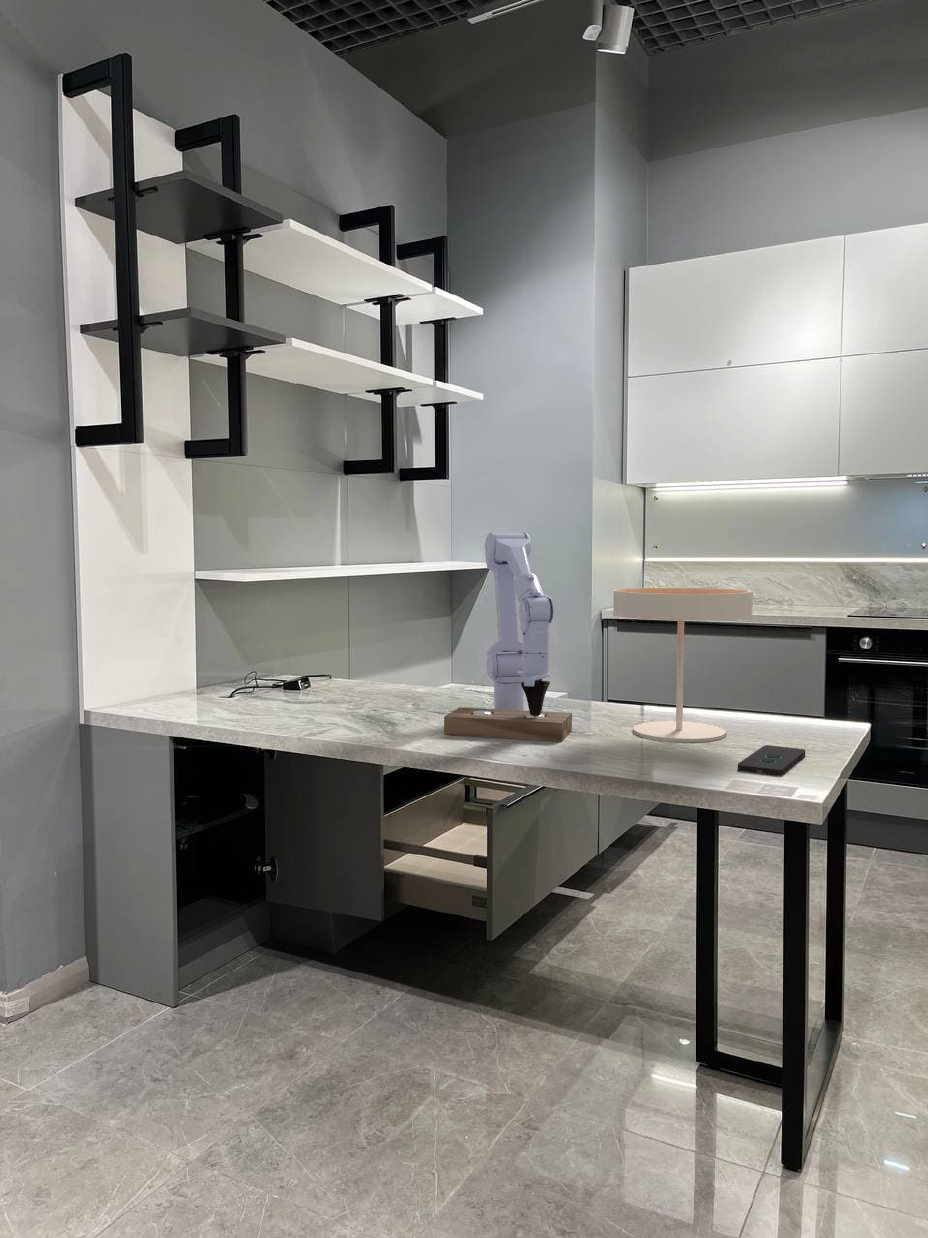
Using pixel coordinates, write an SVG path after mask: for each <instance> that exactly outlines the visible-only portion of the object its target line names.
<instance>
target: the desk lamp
mask: <svg viewBox="0 0 928 1238" xmlns="http://www.w3.org/2000/svg"><path fill="white" fill-rule="evenodd" d="M753 593H754V592H753V591H752V590H747V589H737V588H736V589H734V588H716V587H713V588H711V587H633V588H632V587H631V588H630V587H629V588H628V587H627V588H617V589H613V599H612V600H613V602H612V603H613V609H612V610H613V612H612V614H613V616H615V617H620V618H626V619H637V620H638V619H639V620H656V621H657V620H658V621H677V638H676V641H677V642H676V644H677V645H676V696H675V697H676V700H675V701H676V705H675V708H676V709H675V721H674V720H673V721H672V720H664V721H663V720H662V721H649V722H642V723H639V724H636V725H634V726H633V727H632V729H633V730H632V731H633V734H634V735H637V736H638V737H641V738H645V739H649V740H654V741H661V742H662V741H663V742H670V743H671V742H672V743H703V742H704V743H705V742H707V743H708V742H713V741H714V742H715V741H719V740H723V739H724V738H725V737H727V731H726V729H724V728H722V727H720V726H717V725H712V724H708V723H702V722H694V721H693V722H692V721H683V717H684V716H683V715H684V714H683V712H684V709H683V708H684V707H683V706H684V657H685V655H684V654H685V653H684V651H685V649H684V648H685V621H695V622H697V621H730V620H731V621H732V620H734V621H735V620H742V619H743V620H744V619H749V618H752V617H753V603H754V601H753V599H754V598H753V596H754V595H753Z"/></svg>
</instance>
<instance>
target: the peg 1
mask: <svg viewBox="0 0 928 1238" xmlns="http://www.w3.org/2000/svg"><path fill="white" fill-rule="evenodd" d="M473 715H486V716H490V715H491V712H490V711H474V712H473Z"/></svg>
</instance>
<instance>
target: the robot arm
mask: <svg viewBox="0 0 928 1238" xmlns="http://www.w3.org/2000/svg"><path fill="white" fill-rule="evenodd" d="M484 543H485V544H484V551H485V553H484V554H485V564H486V569H488V570H490V571H492V574H493V580H494V592H495V610H496V623H497V624H496V625H497V638H498V639H497V641H495V642H494V643H493V644H492V645H490V646H489V648H488V650H487V653H486V654H487V658H486V659H487V660H486V671H487V675H488V677H489V679H490V680H492V681H493V709H503V710H524V711H527V707H528V711H529V712H530V715H540V714H541V711H543V707H544V700H545V696H546V692H547V690H548V688H549V687H550V685H551V681H549V680H543V679H547V678H549V677H550V676H551V673H550V665H549V664H550V624H551V623H552V621H553V619H554V603H553V600H552V597H551V596H549V595H548V594H547V593H546V594H545V593H544V591H543V588H542V586H541V583H540V580H539V577H538V576H537V574H535V573H532V571H531V568H530V563H529V556H530V554H531V550H532V541H531V537H530V535H529V534H528V532H525V531H524V532H493V531H491V532H490V531H489V532H488V533H487V535H486V538H485V542H484ZM516 599H517V600H518V603H519V604H518V614H517V601H516ZM517 615H518V616H517ZM518 618H519V621H520V624H519V625H520V631H521V632H522V640H520V639H519V632H518V631H519V629H518Z"/></svg>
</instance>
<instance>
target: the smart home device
mask: <svg viewBox="0 0 928 1238" xmlns="http://www.w3.org/2000/svg"><path fill="white" fill-rule="evenodd" d="M805 757H806V749H805V748H797V747H796V748H795V747H788V746H779V745H770V744H769V745H768V744H766V745H763V746H761V747H760V748H759V749H757V750H756V751H754V752H753V753H751V754H750V755H748V756H747V757H746V758H744V759H743V760H741V761H740V762H738V763H737V771H739V772H746V773H752V774H762V775H769V776H777V777H778V776H779V777H780V776H781V777H782V776H783V775H784V774H786V773H787V772H788V771H790V769H792V768H793V767H794V766H795V765H797V763H799V762H800V761H801V760H802V759H804V758H805Z"/></svg>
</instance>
